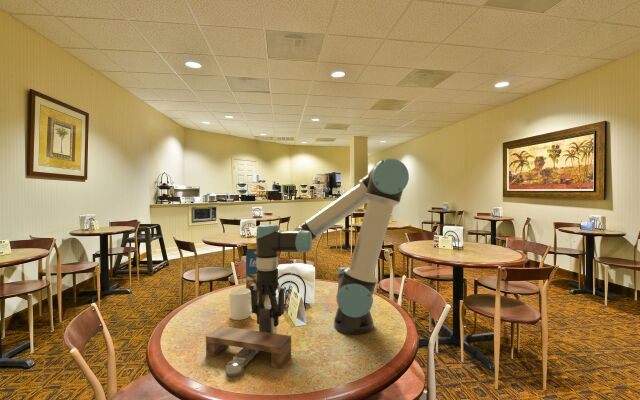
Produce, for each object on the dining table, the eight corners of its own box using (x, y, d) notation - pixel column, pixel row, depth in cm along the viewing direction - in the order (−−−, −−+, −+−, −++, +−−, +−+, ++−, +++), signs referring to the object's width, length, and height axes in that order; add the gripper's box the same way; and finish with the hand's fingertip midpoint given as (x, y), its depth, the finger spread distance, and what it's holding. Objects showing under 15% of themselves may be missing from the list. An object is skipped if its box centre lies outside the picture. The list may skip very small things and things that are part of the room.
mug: (251, 322, 123) (251, 296, 123) (225, 319, 126) (225, 293, 126) (261, 314, 131) (261, 289, 131) (236, 311, 134) (236, 287, 134)
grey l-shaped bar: (266, 333, 111) (265, 303, 111) (276, 334, 110) (275, 304, 110) (233, 363, 91) (232, 327, 91) (245, 365, 90) (244, 328, 90)
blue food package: (268, 291, 162) (268, 244, 162) (246, 291, 163) (245, 244, 162) (270, 288, 169) (270, 242, 168) (249, 288, 169) (248, 243, 169)
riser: (291, 355, 98) (291, 335, 98) (280, 368, 90) (280, 347, 90) (221, 343, 105) (221, 326, 105) (206, 355, 98) (205, 336, 98)
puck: (247, 369, 90) (247, 361, 90) (237, 378, 85) (237, 370, 85) (233, 366, 92) (233, 358, 92) (222, 375, 87) (222, 367, 87)
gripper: (293, 267, 109) (294, 332, 109) (251, 264, 114) (251, 326, 115) (285, 272, 102) (285, 342, 102) (240, 269, 107) (241, 335, 107)
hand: (267, 333), depth 108 cm, fingers closed on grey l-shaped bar, 4 cm apart
